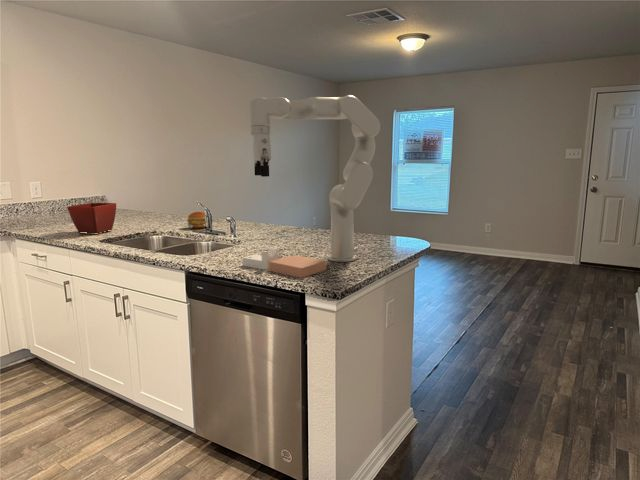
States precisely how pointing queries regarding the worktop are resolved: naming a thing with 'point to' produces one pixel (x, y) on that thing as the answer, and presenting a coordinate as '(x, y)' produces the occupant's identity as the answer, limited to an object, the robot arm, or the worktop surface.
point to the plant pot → (93, 217)
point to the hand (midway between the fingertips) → (261, 175)
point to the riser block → (297, 266)
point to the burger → (196, 220)
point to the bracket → (261, 259)
